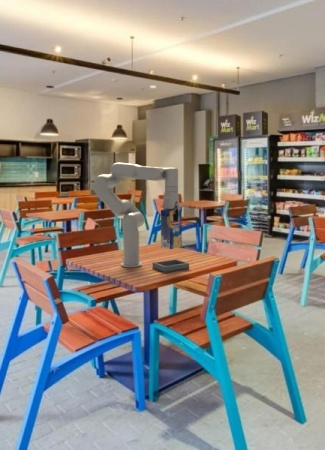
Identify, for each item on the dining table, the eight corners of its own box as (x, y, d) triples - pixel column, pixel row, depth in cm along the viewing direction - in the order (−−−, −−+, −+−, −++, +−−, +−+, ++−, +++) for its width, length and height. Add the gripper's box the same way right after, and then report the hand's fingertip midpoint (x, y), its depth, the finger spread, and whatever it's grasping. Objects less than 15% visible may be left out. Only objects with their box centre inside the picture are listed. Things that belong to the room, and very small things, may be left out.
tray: (152, 268, 247) (152, 262, 246) (176, 264, 256) (176, 259, 256) (164, 272, 236) (164, 266, 236) (189, 269, 245) (189, 263, 245)
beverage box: (181, 246, 247) (181, 209, 244) (170, 249, 238) (170, 210, 235) (172, 245, 251) (172, 208, 248) (160, 248, 242) (160, 209, 239)
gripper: (157, 189, 245) (157, 219, 248) (174, 190, 231) (174, 222, 233) (168, 188, 249) (168, 218, 252) (185, 190, 235) (185, 221, 237)
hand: (171, 219), depth 242 cm, fingers closed on beverage box, 7 cm apart
